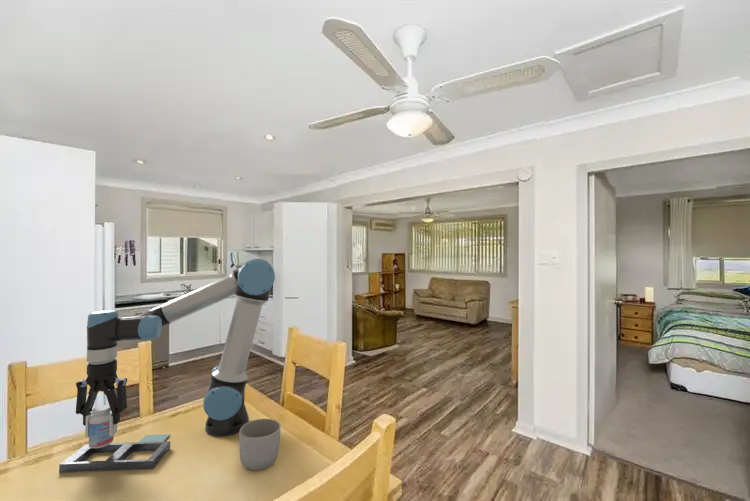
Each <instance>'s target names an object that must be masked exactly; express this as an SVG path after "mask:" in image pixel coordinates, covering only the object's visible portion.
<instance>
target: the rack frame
mask: <svg viewBox="0 0 750 501" xmlns="http://www.w3.org/2000/svg"><path fill="white" fill-rule="evenodd" d="M170 450H171V441H167V440H166V441H165V442H139V441H137V442H112V443H110V444H109V445H107V446H105V447H102V448H90V447H89V443H86V444H84V445H83V446H81V447H80V448H79V449H78V450H76V451H74V453H72V454H71V455H70V456H68V457H67V458H66V459H64V460H63V461H62V462H60V463H59V466H58V468H59V470H58V473H60V474H62V473H63V474H64V473H68V474H69V473H88V472H89V473H90V472H113V471H114V472H115V471H116V472H117V471H118V472H119V471H140V470H144V471H145V470H153V469H155V468H156V466H157V465H158V464H159V463H160V461H161V460H162V459H163V458H164V457H165V455H166V454H167V453H168V452H169V451H170ZM136 452H141V453H142V452H153V453H152V454H151V455H149V457H148V458H145V459H144V458H143V459H127V458H129V457H130V456H131V455H132V454H133V453H136ZM104 453H106V454H108V453H109V454H111V453H112V454H111V455H110V456H109V457H108V458H106V460H93V461H92V460H90V461H87V460H88V459H89V458H90V457H91V456H92V455H94V454H104Z"/></svg>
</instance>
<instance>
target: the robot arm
mask: <svg viewBox="0 0 750 501" xmlns="http://www.w3.org/2000/svg"><path fill="white" fill-rule="evenodd" d="M275 276H276V274H275V270H274V268H273V267H272V265H271V264H270V262H268V261H266V260H264V259H261V258H255V259H250V260H248V261H246V262H244V264H242V266H240V267H238V268H236V269H233V270H232V271H231V273H230V274H229V275H227V276H225V277H222V278H220V279H217V280H216V281H215V280H214V281H212V282H211V283H209V284H206V285H203V286H201V287H199V288H197V289H194V290H192V291H190V292H188V293H185V294H183V295H180V296H179V297H175V298H174V299H171V300H169V301H167V302H165V303H163V304H160V305H157V306H154V307H151V308H149V309H148V310H145V311H143V312H142V313H140V314H138V315H133V316H119V314H118V311H117V310H115V309H113V310H112V309H108V310H107V309H105V310H103V309H102V310H98V311H93V312H90V313H89V314H88V316H87V324H86V341H87V342H86V344H87V346H86V362H87V363H86V375H87V377H86V378H85V379H84V378H82V379H81V380H79V381H77V382H76V383H75V385H76V389H77V390H76V391H77V392H76V403H75V405H76V406H75V414H76V415H82V425H83V426H84V428H85V430H84V431H85V432H84V433H85V434H84V435H85V438H89V421H90V418H91V417H92V416H93V414H92V410H93V409H94V405H95V402H96V399H97V397H98V393H99V392H103V394H104V395H105V396H106V399H107V402H108V405H109V406H110V409H111V411H110V412H111V413H112V414H111V415H109V436H113V437H114V435H115V434H117V432H118V424H119V423H120V422H121V421H120V420H121V413H123V411H125V410H126V409H127V408H128V403H127V402H128V398H127V387H126V386H127V383H128V378H127V377H124V378H121V377H118V375H117V371H118V359H116V358H118V342H120V341H121V342H123V341H124V342H125V341H144V340H145V341H148V340H153V339H158V338H159V337H160V335H161V333H162V330H163V329H162V328H164V327H166V326H168V325H171V324H172V323H175V322H176V321H179V320H181V319H183V318H186V317H188V316H190V315H192V314H195V313H197V312H199V311H201V310H203V309H206V308H208V307H211V306H213V305H214V304H217V303H219V302H221V301H224V300H227V299H228V298H231V297H233V296H234V297H235V298H236V303H235V307H234V310H233V314H232V318H231V321H230V323H229V324H230V325H229V328H228V333H227V336H226V340H225V344H224V347H223V350H222V354H221V358H220V360H219V364H218V365H215V366H214V367H212V370H211V376H210V380H209V384H208V388H207V391H206V394H205V396H204V397H203V403H202V404H203V405H202V406H203V410H204V413H205V414H206V415H207V419H206V421H205V428H204V430H205V432H206V433H207V434H208V435H209V436H213V437H225V436H226V437H227V436H231V435H235V434H238V433H239V430H240V428H241V427H242V426H243V425H244V424H246V423H248V422H250V417H249V414H248V411H247V408H246V404H245V398H246V397H245V394H246V392H245V390H246V385H247V383H248V382H247V381H248V377H249V376H248V375H247V371H246V368H247V366H248V365H247V364H248V359H249V356H250V353H251V349H252V346H253V342H254V338H255V333H256V331H257V326H258V323H259V319H260V314H261V311H262V307H263V305H264V304H266V303H267V302H269V298H270V295H271V291H272V287H273V285H274V283H275V279H276V277H275ZM115 385H116V387H115ZM88 386H89V390H88ZM87 394H88V396H87Z"/></svg>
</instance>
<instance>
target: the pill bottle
mask: <svg viewBox="0 0 750 501" xmlns="http://www.w3.org/2000/svg"><path fill="white" fill-rule="evenodd" d="M91 413H92V414H93V416H92V417H91V418H90V421H89V437H88V444H89V447H90V448H102V447H105V446H107V445H109V444H110V443H114V435H113V436H109V415H111V414H112V412H111V409H110V406H109V404H104V405H99V406H96V407H93V408H92V411H91Z"/></svg>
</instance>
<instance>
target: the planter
mask: <svg viewBox="0 0 750 501" xmlns="http://www.w3.org/2000/svg"><path fill="white" fill-rule="evenodd" d="M238 433H239V436H238V437H239V438H238V439H239V442H238V443H239V459H240V460H239V461H240V464H241V465H242V467H243V468H244V469H247V470H250V471H261V470H265V469H267V468H269V467H271V466H272V465H273V464H274V463H275V462H276V460H277V459H278V456H279V452H280V443H281V442H280V441H281V424H280V422H279V421H278V420H276V419H272V418H257V419H254V420H249V422H248V423H246V424H244V425H243V426H242V427H241V428H240V430H239V432H238Z"/></svg>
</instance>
